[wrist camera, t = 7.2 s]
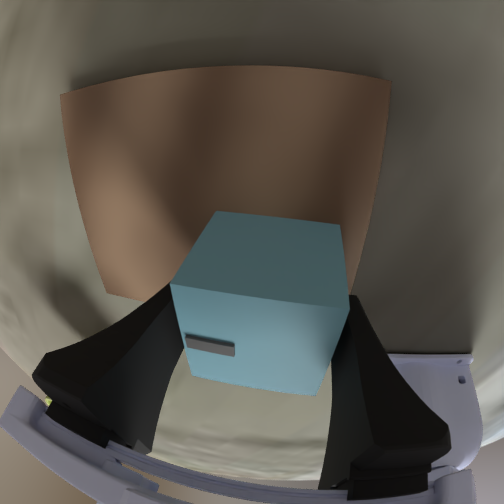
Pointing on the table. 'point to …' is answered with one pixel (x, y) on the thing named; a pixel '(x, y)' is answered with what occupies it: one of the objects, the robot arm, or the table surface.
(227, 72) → the panel
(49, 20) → the table surface
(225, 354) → the blue cube with slot
